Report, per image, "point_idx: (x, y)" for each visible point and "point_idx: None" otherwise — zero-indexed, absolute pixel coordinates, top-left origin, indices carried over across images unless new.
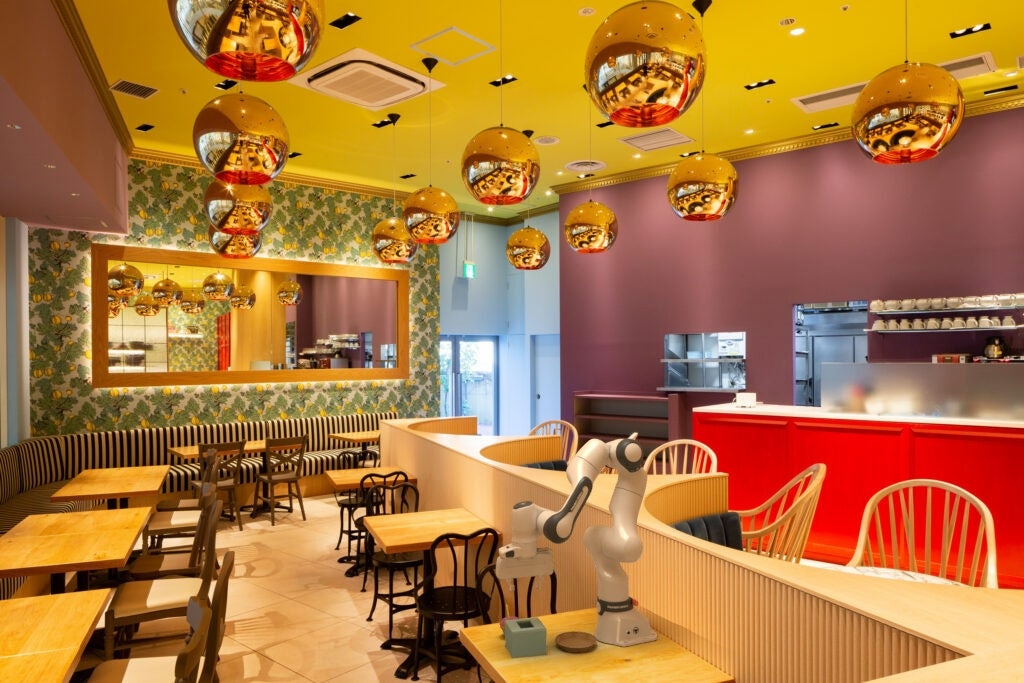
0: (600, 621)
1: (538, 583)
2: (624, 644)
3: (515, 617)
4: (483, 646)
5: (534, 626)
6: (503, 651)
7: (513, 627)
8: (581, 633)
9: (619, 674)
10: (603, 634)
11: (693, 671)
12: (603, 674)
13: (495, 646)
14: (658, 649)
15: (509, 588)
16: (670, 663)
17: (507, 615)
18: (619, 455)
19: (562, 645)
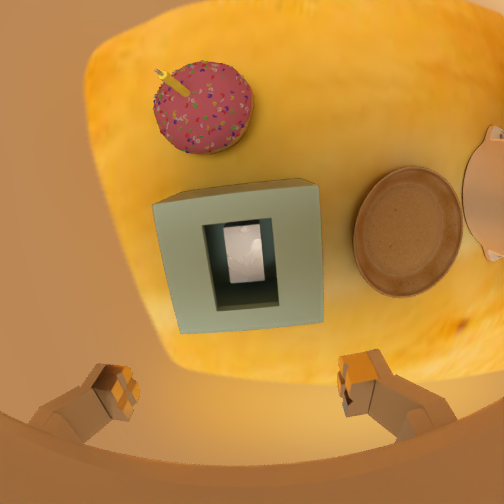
0: (502, 216)
1: (365, 410)
2: (493, 261)
3: (218, 94)
4: (116, 188)
5: (279, 298)
6: None
7: (186, 295)
8: (442, 182)
9: (415, 382)
10: (482, 226)
11: (500, 362)
12: None
13: (150, 191)
14: None
15: (95, 372)
16: (499, 338)
17: (178, 92)
18: None
19: (363, 276)
